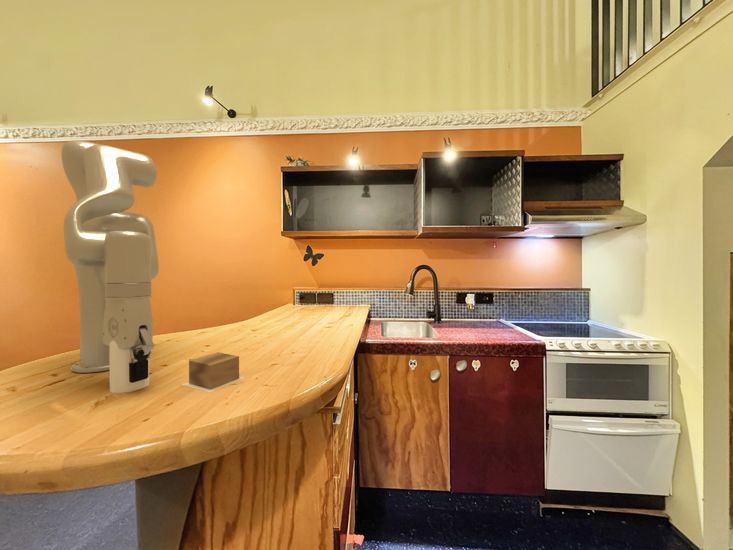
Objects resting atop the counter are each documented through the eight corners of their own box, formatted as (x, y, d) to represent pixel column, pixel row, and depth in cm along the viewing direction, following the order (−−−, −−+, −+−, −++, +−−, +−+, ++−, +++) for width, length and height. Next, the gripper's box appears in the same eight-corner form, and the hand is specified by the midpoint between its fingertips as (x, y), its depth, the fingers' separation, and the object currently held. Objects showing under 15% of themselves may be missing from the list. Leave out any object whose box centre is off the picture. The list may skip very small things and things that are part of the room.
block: (189, 383, 64) (188, 360, 63) (218, 373, 70) (218, 352, 70) (210, 389, 60) (210, 365, 60) (239, 378, 67) (239, 356, 67)
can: (127, 399, 58) (127, 338, 58) (101, 396, 59) (100, 336, 59) (156, 386, 64) (156, 331, 64) (132, 383, 66) (132, 330, 65)
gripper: (85, 291, 62) (87, 376, 62) (130, 294, 54) (131, 392, 55) (127, 289, 69) (128, 366, 69) (172, 291, 61) (173, 378, 61)
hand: (130, 376), depth 62 cm, fingers closed on can, 6 cm apart
